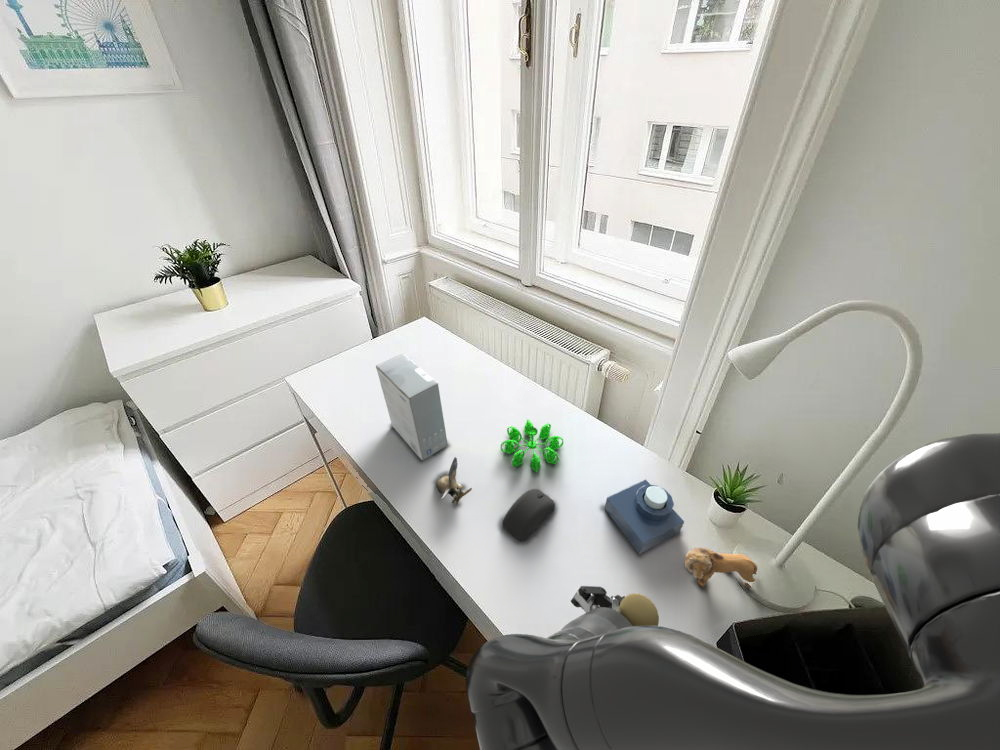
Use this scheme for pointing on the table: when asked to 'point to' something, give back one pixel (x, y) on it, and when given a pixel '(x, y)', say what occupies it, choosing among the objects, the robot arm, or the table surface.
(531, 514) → the computer mouse
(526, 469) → the table surface
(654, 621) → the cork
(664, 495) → the white button cap
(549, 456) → the chandelier
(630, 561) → the table surface
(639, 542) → the button base
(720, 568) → the lion figurine
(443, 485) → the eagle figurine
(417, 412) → the hard drive box
